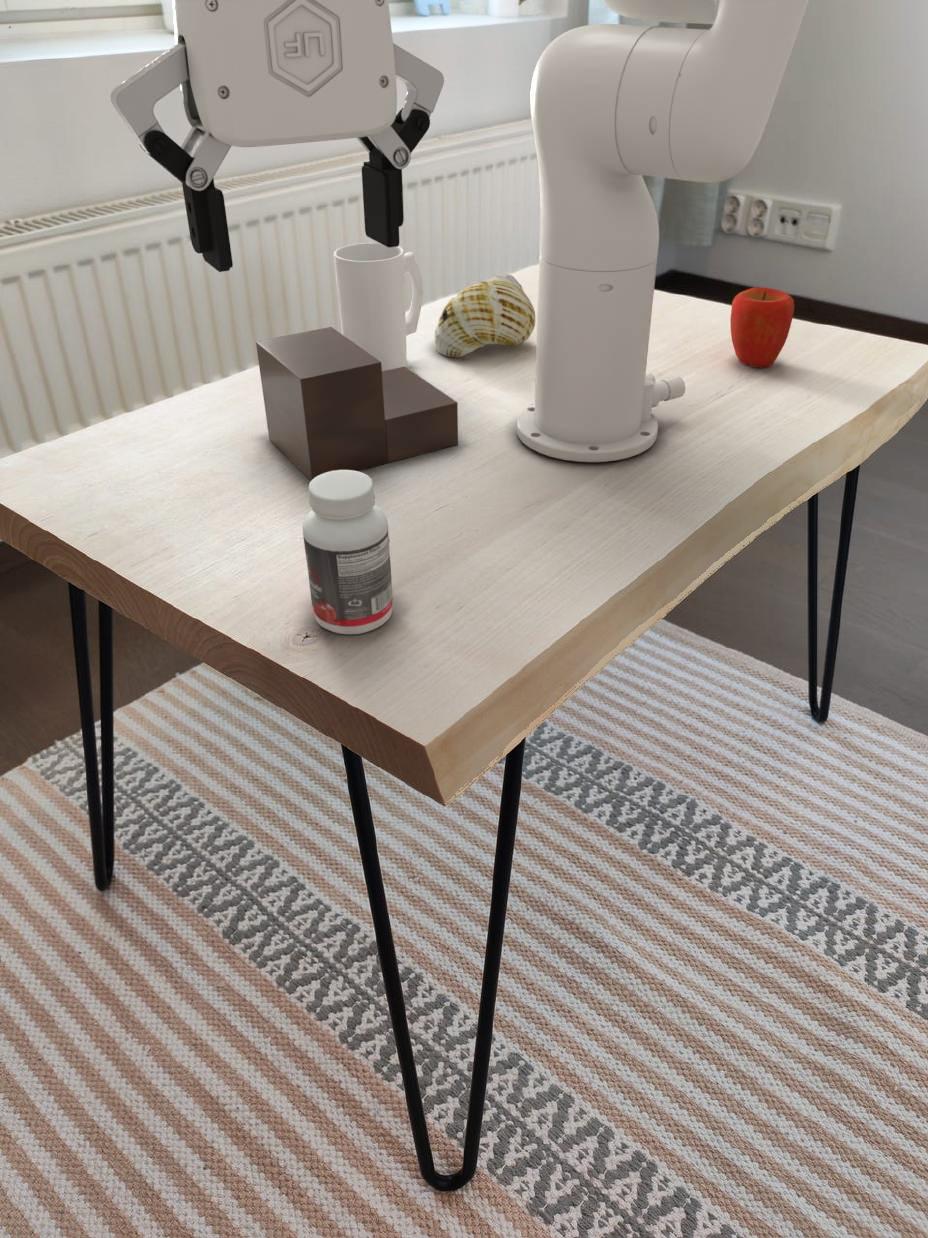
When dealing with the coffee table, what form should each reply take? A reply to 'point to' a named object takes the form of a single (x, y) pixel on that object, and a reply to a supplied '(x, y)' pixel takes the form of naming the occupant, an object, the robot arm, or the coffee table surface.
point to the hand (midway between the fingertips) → (303, 253)
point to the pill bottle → (347, 553)
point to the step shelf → (347, 405)
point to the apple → (760, 325)
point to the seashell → (485, 317)
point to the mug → (377, 299)
